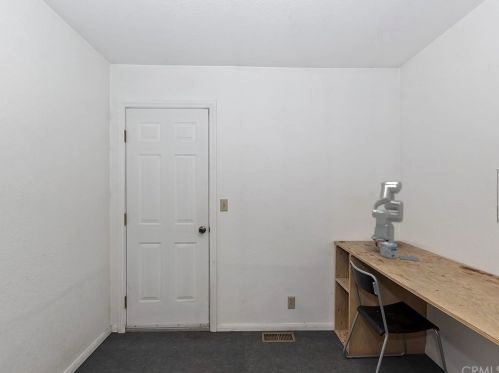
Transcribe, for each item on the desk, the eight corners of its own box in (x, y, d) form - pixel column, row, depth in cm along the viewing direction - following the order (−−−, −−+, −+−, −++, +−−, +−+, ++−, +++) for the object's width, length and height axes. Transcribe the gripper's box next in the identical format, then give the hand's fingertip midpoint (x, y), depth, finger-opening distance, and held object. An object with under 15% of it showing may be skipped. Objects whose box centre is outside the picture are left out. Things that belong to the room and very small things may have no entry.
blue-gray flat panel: (399, 255, 221) (399, 255, 221) (416, 257, 215) (416, 256, 215) (400, 259, 210) (400, 258, 210) (418, 261, 205) (418, 260, 205)
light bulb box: (397, 258, 214) (397, 244, 214) (391, 259, 211) (391, 245, 211) (386, 254, 224) (386, 241, 223) (379, 255, 221) (379, 242, 221)
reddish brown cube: (377, 246, 236) (377, 239, 236) (384, 246, 234) (384, 240, 233) (377, 247, 231) (377, 241, 231) (384, 248, 229) (384, 242, 228)
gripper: (392, 225, 231) (392, 246, 232) (369, 224, 239) (370, 244, 240) (392, 227, 224) (392, 248, 225) (369, 225, 232) (369, 246, 233)
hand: (380, 246), depth 232 cm, fingers closed on reddish brown cube, 5 cm apart
